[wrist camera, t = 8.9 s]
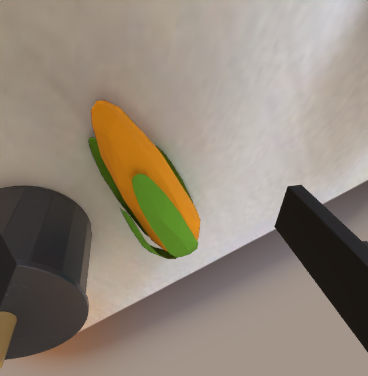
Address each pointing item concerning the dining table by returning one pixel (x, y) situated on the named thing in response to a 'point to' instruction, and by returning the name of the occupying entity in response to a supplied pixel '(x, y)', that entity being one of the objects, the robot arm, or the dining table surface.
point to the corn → (144, 183)
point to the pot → (46, 230)
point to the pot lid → (39, 310)
